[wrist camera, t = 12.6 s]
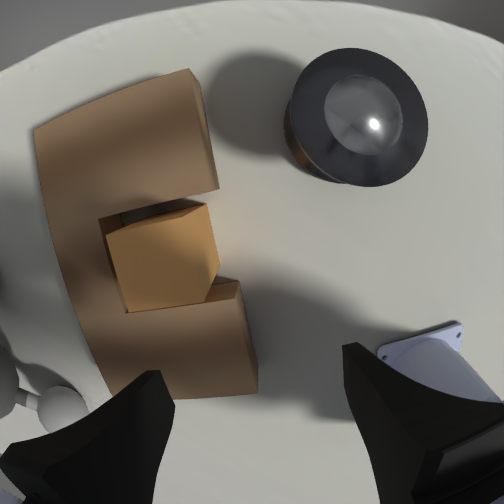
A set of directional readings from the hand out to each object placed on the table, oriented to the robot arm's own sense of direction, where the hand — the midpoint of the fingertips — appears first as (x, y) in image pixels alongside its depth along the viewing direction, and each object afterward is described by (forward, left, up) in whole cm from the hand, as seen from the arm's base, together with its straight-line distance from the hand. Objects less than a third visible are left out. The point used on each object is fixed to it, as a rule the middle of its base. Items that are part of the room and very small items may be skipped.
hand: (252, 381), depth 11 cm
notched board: (+4, +7, -9) cm, 12 cm away
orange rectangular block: (+4, +4, -10) cm, 11 cm away
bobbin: (+10, -7, -9) cm, 15 cm away
